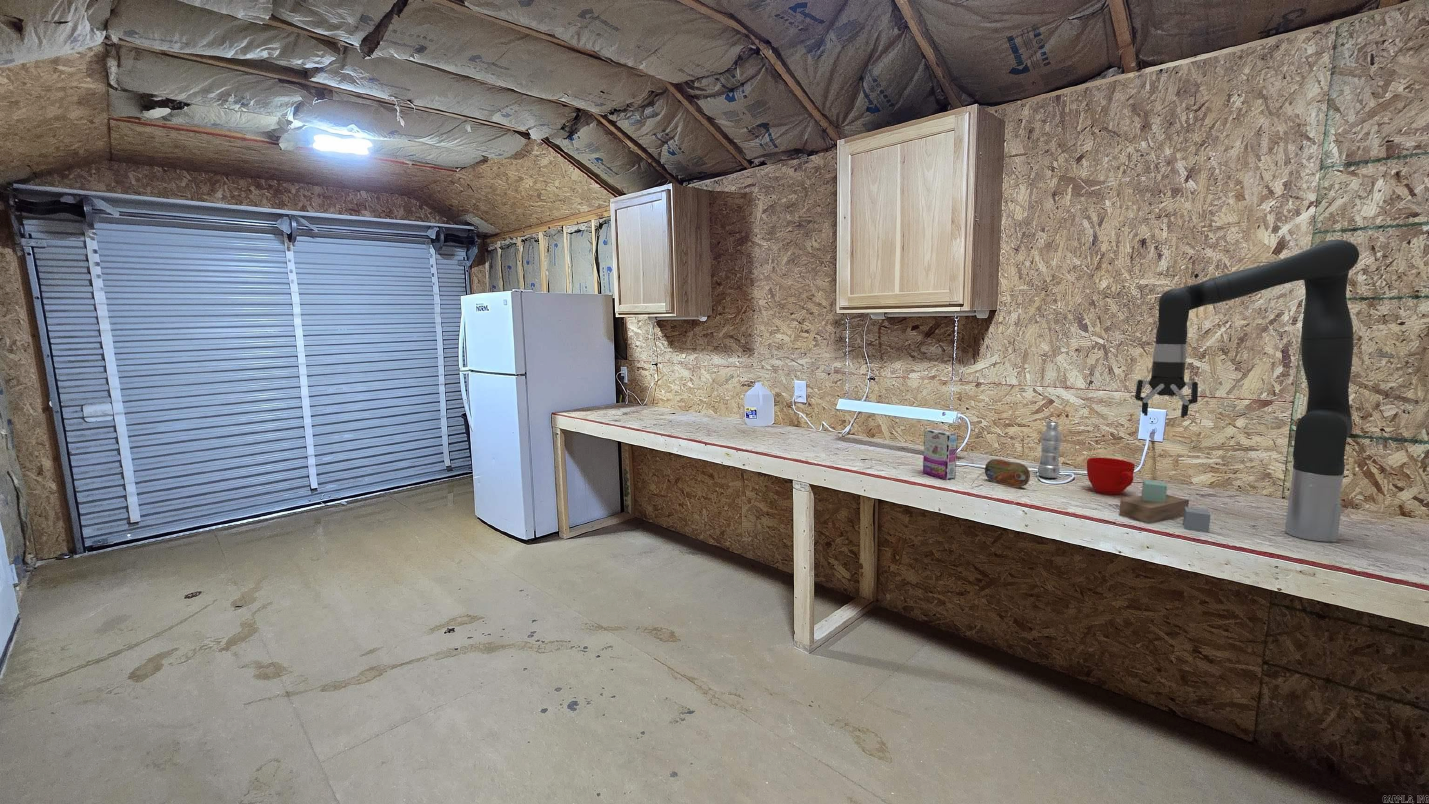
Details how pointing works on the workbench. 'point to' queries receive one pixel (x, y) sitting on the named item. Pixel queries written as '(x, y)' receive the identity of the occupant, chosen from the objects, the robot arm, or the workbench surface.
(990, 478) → the tin
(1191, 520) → the slate cube
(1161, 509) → the walnut block
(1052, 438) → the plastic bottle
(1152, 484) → the green cube
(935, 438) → the candy bar box
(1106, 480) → the ceramic cup
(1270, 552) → the workbench surface
